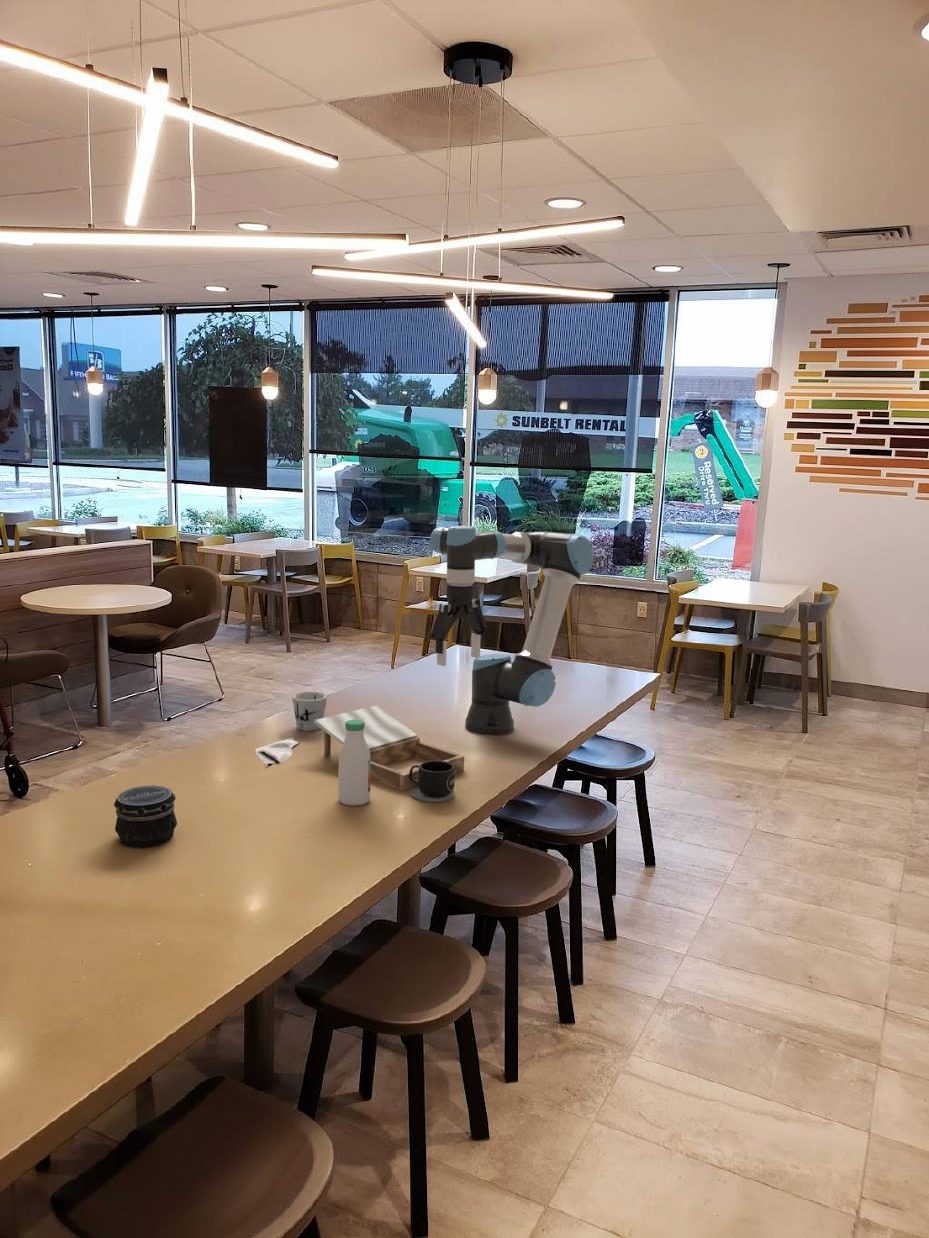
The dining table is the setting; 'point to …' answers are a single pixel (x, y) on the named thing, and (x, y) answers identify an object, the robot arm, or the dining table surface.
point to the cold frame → (386, 745)
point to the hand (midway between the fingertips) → (458, 661)
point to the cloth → (276, 751)
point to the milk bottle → (354, 766)
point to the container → (145, 816)
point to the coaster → (422, 797)
